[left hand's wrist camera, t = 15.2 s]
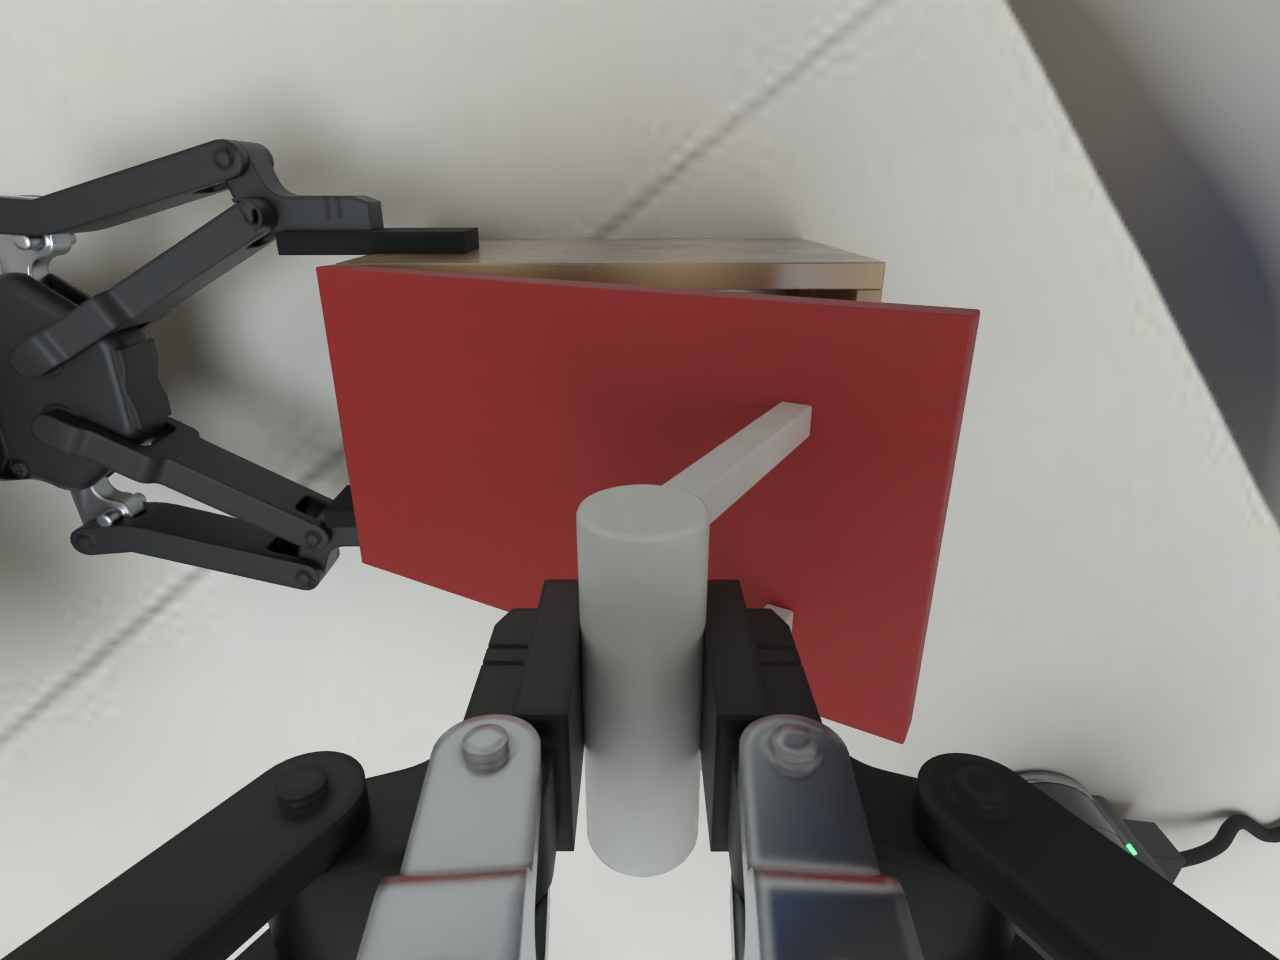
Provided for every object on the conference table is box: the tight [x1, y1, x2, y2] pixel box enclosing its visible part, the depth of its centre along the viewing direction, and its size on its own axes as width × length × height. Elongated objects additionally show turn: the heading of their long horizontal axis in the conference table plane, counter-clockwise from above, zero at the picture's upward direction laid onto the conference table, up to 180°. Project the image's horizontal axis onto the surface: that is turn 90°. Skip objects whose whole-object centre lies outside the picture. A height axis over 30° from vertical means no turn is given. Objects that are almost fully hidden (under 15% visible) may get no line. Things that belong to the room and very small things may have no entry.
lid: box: [316, 264, 980, 877], centre depth 17 cm, size 18×10×9 cm
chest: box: [336, 239, 885, 303], centre depth 30 cm, size 17×10×11 cm, turn 90°
